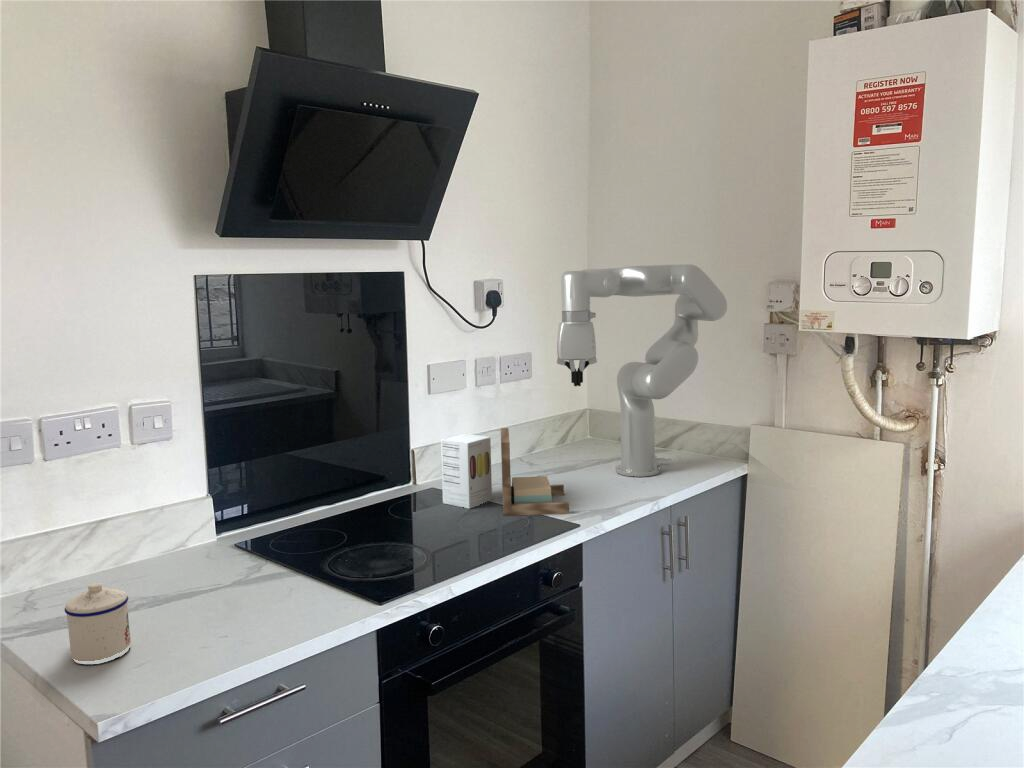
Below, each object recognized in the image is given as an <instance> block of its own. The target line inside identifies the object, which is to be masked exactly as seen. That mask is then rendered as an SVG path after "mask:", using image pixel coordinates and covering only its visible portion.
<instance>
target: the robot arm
mask: <svg viewBox="0 0 1024 768" xmlns="http://www.w3.org/2000/svg"><path fill="white" fill-rule="evenodd" d="M560 277H561V278H560V280H561V281H560V282H561V283H560V284H561V322H559V323H558V327H557V343H556V344H557V346H556V347H557V349H556V350H557V351H556V352H557V353H556V354H557V360H556V364H557V365H560V366H565V367H566V368H568V370H570V374H571V375H570V378H571V379H570V380H571V384H573V386H574V387H582V385H581V383H583V382H584V373H583V372H584V371H585V369H587V367H588V366H589V365H593V364H594V365H595V364H597V363H598V359H597V356H596V355H597V346H596V344H597V343H596V335H595V328H594V323H593V321H592V319H593V318H596V315H597V314H596V312H593V311H591V298H609V297H612V296H623V297H631V298H632V297H635V298H636V297H637V298H638V297H654V296H670V295H671V296H675V295H678V297H677V298H676V300H675V303H674V321H673V324H672V326H671V327H670V328H669V330H668V331H666V332H665V333H664V334H663V335H662V336H661V337H659V338H658V339H657V340H656V341H655V342H654V343H653V344H652V345H651V346H650V347H648V349H647V351H646V353H645V357H644V360H645V362H641V361H631V362H630V361H629V362H627V363H625V364H623V365H622V366H621V367H620V368H619V370H618V372H617V375H616V386H617V391H618V396H619V404H620V406H619V407H620V464H618V465H616V466H615V472H616V473H617V474H618V473H619V475H621V476H625V477H626V476H627V477H633V476H634V478H635V477H638V478H640V477H643V478H644V477H650V476H651V477H652V476H655V475H658V474H659V473H660V472H661V466H672V459H671V458H665V457H657V455H655V451H656V450H655V447H656V446H655V417H656V416H655V415H656V414H655V406H654V403H653V400H663V399H665V398H666V397H668V396H669V395H671V394H672V393H673V392H674V391H675V390H676V389H677V388H679V386H681V385H682V384H683V383H684V382H685V381H686V380H687V379H688V378H689V377H691V375H692V374H693V373H694V371H695V370H696V369H697V366H698V362H699V352H698V350H697V348H696V347H695V346H696V344H697V342H698V339H699V324H698V323H699V322H698V321H702V322H703V321H704V322H705V321H706V322H716V321H718V320H721V319H722V318H724V316H725V315H726V313H727V309H728V301H727V299H726V297H725V295H724V293H723V292H722V291H721V289H720V288H719V287H718V286H717V285H716V284H715V283H714V281H713V280H712V279H711V278H710V277H709V276H708V274H707V273H706V272H704V271H703V270H702V269H701V268H700V267H698V266H697V265H695V264H660V265H659V264H658V265H657V264H655V265H634V266H633V265H632V266H624V267H615V268H597V269H596V268H591V269H590V268H589V269H588V268H587V269H581V270H568V271H564V272H563V273H561V276H560ZM575 361H579V363H578V367H577V368H576V367H575V366H576V365H575Z"/></svg>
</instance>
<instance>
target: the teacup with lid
mask: <svg viewBox="0 0 1024 768" xmlns="http://www.w3.org/2000/svg"><path fill="white" fill-rule="evenodd" d="M128 601H129V597H128V594H127V593H126V592H125V591H124V590H122V589H119V588H118V589H117V588H109V587H106V586H105V587H103V584H102V583H101V582H93V583H90V584H89V585H88V587H87V590H85V591H83V592H82V593H81V594H78V595H76V596H74V597H72V598H70V599H69V600H68V601H67V603H66V604H65V606H64V612H65V614H66V619H67V629H68V636H69V637H68V638H69V639H68V640H69V646H70V647H69V648H70V657H71V656H72V657H71V659H72V658H73V659H75V660H78V661H95V660H101V659H104V658H108V657H111V656H113V655H115V654H117V653H120V652H122V651H123V650H125V649H126V648H127V647H128V646H129V645H130V643H131V644H132V641H131V630H130V628H131V627H130V621H129V611H128V610H129V609H128Z"/></svg>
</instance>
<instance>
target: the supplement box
mask: <svg viewBox="0 0 1024 768" xmlns="http://www.w3.org/2000/svg"><path fill="white" fill-rule="evenodd" d="M491 440H492V439H491V436H486V435H477V434H469V433H462V434H458V435H455V436H454V435H453V436H451V437H447V438H442V439H441V438H440V452H441V453H440V454H441V455H440V457H441V480H442V481H441V482H442V483H441V485H442V488H441V489H442V504H445V505H450V506H455V507H460V508H463V507H464V508H463V509H468V510H469V509H472V508H475V506H476V507H478V506H481V505H483V503H484V504H486V503H488V502H487V501H489V502H492V501H491V500H493V494H492V493H493V489H492V485H493V484H492V450H491V449H492V446H491V443H492V441H491ZM485 502H486V503H485ZM480 504H481V505H480Z"/></svg>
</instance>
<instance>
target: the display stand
mask: <svg viewBox="0 0 1024 768" xmlns="http://www.w3.org/2000/svg"><path fill="white" fill-rule="evenodd" d="M509 431H510V430H509V427H501V428H500V447H501V449H500V452H501V477H502V478H501V483H502V484H501V485H502V486H501V489H502V512H503V513H502V514H503V515H502V516H504V517H506V516H509V517H510V516H534V515H535V516H537V515H539V516H540V515H563V514H564V515H565V514H571V513H570V502H568V501H563V502H551V503H528V504H513V503H512V498H513V494H512V477H511V451H510V450H511V449H510V446H511V443H510V442H511V441H510V433H509ZM550 487H551V496H564V495H565V487H564V484H550Z"/></svg>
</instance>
